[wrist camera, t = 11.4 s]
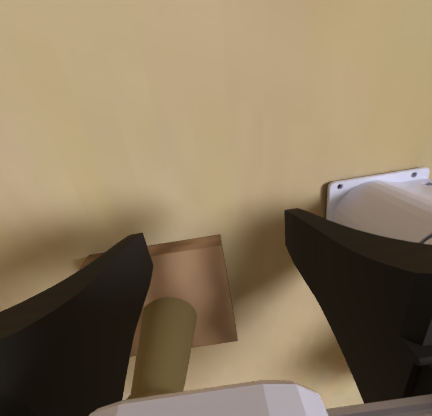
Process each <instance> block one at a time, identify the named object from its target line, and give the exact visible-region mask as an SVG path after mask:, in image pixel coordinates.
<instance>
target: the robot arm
mask: <svg viewBox="0 0 432 416" xmlns="http://www.w3.org/2000/svg"><path fill="white" fill-rule="evenodd" d="M412 173H413V175H412ZM429 173H430V170H429V168H426V167H420V168H414V169H408V170H401V171H395V172H389V173H383V174H377V175H370V176H364V177H358V178H352V179H345V180H339V181H333V182H331V183H329V185H328V191H327V209H326V219H325V218H322V217H319V216H317V215H314V214H312V213H309V212H307V211H304V210H301V209H298V208H296V209H289V210H285V243H286V247H287V249H288V252H289V254H290V256H291V258H292V261H293V262H294V264H295V266H296V267H297V269H298V271H299V272H300V274H301V275H302V277H303V279H304V280H305V282H306V283H307V285H308V286H309V288H310V290H311V291H312V293H313V294H314V296H315V298H316V299H317V301H318V303H319V305H320V306H321V308H322V310H323V312H324V314H325V316H326V319H327V321H328V323H329V325H330V327H331V329H332V331H333V333H334V335H335V337H336V340H337V342H338V344H339V346H340V348H341V350H342V353H343V355H344V357H345V359H346V362H347V364H348V366H349V368H350V371H351V373H352V375H353V378H354V380H355V382H356V385H357V387H358V389H359V392H360V394H361V397H362V399H363V402H364V404H359V405H351V406H344V407H337V408H330V409H325V406H324V404H323V402H322V399H321V397H320V395H319V394H318V393H316V392H314V391H313V390H311V389H309V388H306V387H304V386H302V385H299V384H297V383H295V382H293V381H286V380H259V381H252V382H246V383H239V384H232V385H225V386H218V387H211V388H204V389H197V390H190V391H183V392H177V393H170V394H163V395H156V396H149V397H142V398H135V399H128V400H123V401H122V397H123V391H124V385H125V379H126V374H127V369H128V363H129V358H130V353H131V348H132V344H133V339H134V334H135V331H136V327H137V324H138V321H139V318H140V315H141V311H142V308H143V305H144V302H145V299H146V296H147V293H148V290H149V287H150V283H151V278H152V272H153V262H152V259H151V256H150V253H149V250H148V247H147V244H146V241H145V239H144V236H143V233H138V234H132V235H129V236H127V237H126V238H124V239H123V240H121V241H120V242H119V243H117V244H116V245H115V246H113V247H112V248H111V249H109V250H108V251H106V252H105V253H104V254H102V255H101V256H100V257H98V258H97V259H95V260H94V261H92V262H91V263H90V264H88V265H87V266H85V267H84V268H82V269H81V270H79V271H78V272H76V273H75V274H73V275H71V276H70V277H68V278H66V279H65V280H63V281H61V282H60V283H58V284H56V285H54V286H53V287H51V288H49V289H47V290H45V291H43V292H41V293H39V294H37V295H35V296H33V297H31V298H29V299H27V300H26V301H23V302H21V303H19V304H17V305H15V306H13V307H11V308H8V309H6V310H4V311H2V312H0V416H432V179H429V178H428V177H429ZM411 175H412V176H411ZM339 184H340V187H339V188H337V187H338V185H339Z"/></svg>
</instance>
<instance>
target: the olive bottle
mask: <svg viewBox="0 0 432 416" xmlns="http://www.w3.org/2000/svg"><path fill="white" fill-rule="evenodd" d="M196 321H197V314H196V311H195V309H194V308H193V307H192V306H191V305H190V304H189V303H188V302H186V301H184V300H182V299H178V298H174V297H164V298H160V299H156V300H154V301H152V302H151V303H149V304H148V305H147V306H146V308H145V309H144V312H143V316H142V322H141V329H140V336H139V343H138V349H137V356H136V363H135V370H134V376H133V383H132V390H131V395H130V396H129V397H128V398H127V399H126V400H128V399H135V398H142V397H149V396H156V395H163V394H170V393H177V392H183V389H184V384H185V379H186V374H187V368H188V363H189V358H190V353H191V347H192V342H193V337H194V331H195V326H196Z"/></svg>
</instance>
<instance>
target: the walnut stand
mask: <svg viewBox="0 0 432 416" xmlns="http://www.w3.org/2000/svg"><path fill="white" fill-rule="evenodd" d="M147 247H148V250H149V253H150V256H151V259H152V262H153V272H152V278H151V283H150V287H149V290H148V293H147V296H146V299H145V302H144V305H143V308H142V311H141V315H140V318H139V321H138V324H137V327H136V331H135V334H134V339H133V344H132V348H131V353H130V357H132V356H137V349H138V343H139V336H140V329H141V322H142V316H143V312H144V309H145V308H146V306H147V305H148V304H149V303H151V302H152V301H154V300H156V299H160V298H164V297H174V298H178V299H182V300H184V301H186V302H188V303H189V304H190V305H191V306H192V307H193V308H194V309H195V311H196V314H197V321H196V326H195V331H194V337H193V342H192V347H191V348H193V347H199V346H206V345H213V344H220V343H226V342H233V341H238V339H237V332H236V325H235V319H234V314H233V308H232V302H231V296H230V290H229V284H228V278H227V272H226V266H225V260H224V254H223V248H222V243H221V237H220V235H215V236H208V237H202V238H196V239H189V240H183V241H177V242H170V243H164V244H158V245H151V246H147ZM102 254H104V253H101V254H94V255H89V257H88V258H87V259H86V260H85V262H84V263H83V264H82V265H81V267H80V269H82V268H84V267H85V266H87V265H88V264H90V263H91V262H92V261H94V260H95V259H97V258H98V257H100V256H101V255H102Z"/></svg>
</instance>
